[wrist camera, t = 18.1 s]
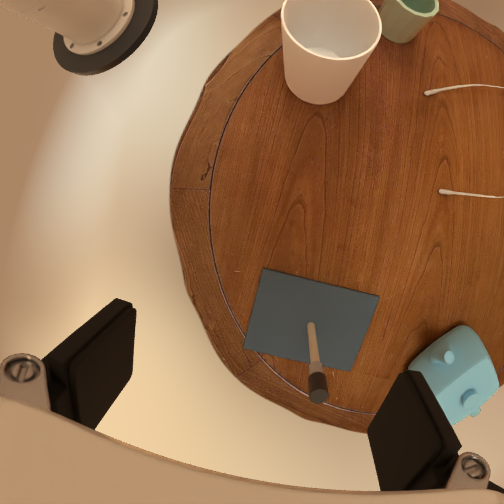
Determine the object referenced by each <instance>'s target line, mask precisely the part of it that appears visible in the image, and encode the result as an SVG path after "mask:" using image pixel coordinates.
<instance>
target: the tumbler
mask: <svg viewBox="0 0 504 504" xmlns="http://www.w3.org/2000/svg"><path fill="white" fill-rule="evenodd" d="M438 11H439V2H438V0H384V2H383V3H382V5H381V7H380V9H379V11H378V13H379V16H380V19H381V24H382V31H381V34H382V35H383V36H384V37H385V38H387V39H388V40H390V41H393V42H396V43H407V42H409V41H411V40H412V39H413V38H414V37H415V36H416V35H417V34H418V32H419V31H420V30H421V29H422V28H423V27H424V26H425V25H426V24H427V23H428V22H429V21H430V20H431V19H432V17H433V16H434V15H435V14H436V13H437V12H438Z"/></svg>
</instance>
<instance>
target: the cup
mask: <svg viewBox="0 0 504 504" xmlns="http://www.w3.org/2000/svg"><path fill="white" fill-rule="evenodd" d="M281 27H282V41H283V56H284V72H285V80H286V83H287V85H288V87H289V89H290V90H291V91H292V92H293V94H295V95H296V96H297V97H298V98H300V99H301V100H303V101H305V102H308V103H312V104H328V103H332V102H334V101H336V100H338V99H339V98H341V97H342V96H343V95H344V93H345V92H346V91H347V89H348V88H349V86H350V85H351V83H352V81H353V80H354V78H355V77H356V75H357V74H358V72H359V71H360V69H361V68H362V66H363V65H364V63H365V62H366V60H367V59H368V57H369V56H370V54H371V53H372V51H373V50H374V48H375V47H376V45H377V44H378V42H379V39H380V36H381V31H382V24H381V19H380V16H379V13H378V11H377V9H376V8H375V6H374V5H373V4H372V2H371V1H370V0H285V1H284V3H283V6H282V10H281Z"/></svg>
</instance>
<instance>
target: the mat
mask: <svg viewBox="0 0 504 504" xmlns="http://www.w3.org/2000/svg"><path fill="white" fill-rule="evenodd" d="M379 298H380V297H379V296H377V295H373V294H369V293H365V292H361V291H356V290H352V289H348V288H344V287H340V286H336V285H332V284H328V283H324V282H320V281H315V280H311V279H307V278H303V277H299V276H295V275H291V274H287V273H283V272H279V271H275V270H271V269H267V268H263V270H262V274H261V278H260V282H259V286H258V290H257V294H256V298H255V302H254V306H253V310H252V314H251V318H250V322H249V326H248V330H247V334H246V337H245V341H244V345H243V348H245V349H249V350H253V351H257V352H261V353H265V354H269V355H273V356H278V357H282V358H286V359H291V360H295V361H300V362H305V363H309V364H310V363H311V360H310V349H309V339H308V329H307V325H308V323H310V322H312V323H314V324H315V331H316V338H317V345H318V352H319V359H320V362H321V363H322V366H324V367H329V368H335V369H340V370H345V371H350V370H351V368H352V366H353V364H354V361H355V359H356V357H357V354H358V352H359V350H360V347H361V345H362V342H363V340H364V337H365V335H366V332H367V330H368V327H369V325H370V322H371V320H372V317H373V314H374V312H375V309H376V306H377V304H378V301H379Z"/></svg>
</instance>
